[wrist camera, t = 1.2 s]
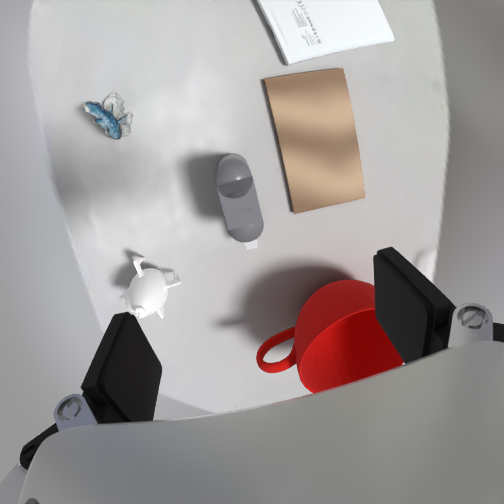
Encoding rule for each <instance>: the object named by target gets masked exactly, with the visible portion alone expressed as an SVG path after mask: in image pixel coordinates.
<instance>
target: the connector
mask: <svg viewBox="0 0 504 504" xmlns="http://www.w3.org/2000/svg"><path fill="white" fill-rule="evenodd" d="M215 184H216V188H217V192H218V195H219V199H220V203H221V206H222V210H223V213H224V217H225V220H226V224H227V227H228V231H229V233H230V235H231V236H232V237H233V238H234V239H235V240H237V241H239V242H244V243H245V246H246V250H248V249H252V248H256V247H258V243H257V238H258V237H259V236H260V235H261V233H262V231H263V226H264V225H263V219H262V215H261V211H260V206H259V202H258V198H257V194H256V190H255V186H254V182H253V177H252V174H251V172H250V169H249V167H248V164H247V162H246V160H245V159H244V158H243V157H242V156H240V155H238V154H228V155H225V156H224V157H223V158H222V159H221V160H220V161H219V163H218V167H217V172H216V177H215Z"/></svg>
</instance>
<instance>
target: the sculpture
mask: <svg viewBox="0 0 504 504" xmlns="http://www.w3.org/2000/svg"><path fill="white" fill-rule="evenodd" d="M123 103H124V100H123V99H122V98H121V96H120V95H119V94H118V93H115V92H114V93H112V94H111V95H109V96H108V98H107V99H106V100H105V101H104V104H103V106H104V109H102V107H101V105H100V103H98V102H95V103H94V102H92V101H89V102H84V103H83V105H84V106H85V107H84V110H85V111H86V112H88V113H90V114H93V116H95V117H96V119H94V120H93V122H94V123H96V124H98V123H99V125H100V126H101V127H102V129H104V130H105V133H106V135H107V136H108V135H109V136H110V137H112V138H114V139H120V138H121V137H124V136H128V135H129V134H130V132H131V128H130V125H131V124H132V117H133V114H132V113H130V112H128V113H127V114H126V115H125V114H124V107H123Z"/></svg>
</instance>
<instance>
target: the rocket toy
mask: <svg viewBox="0 0 504 504" xmlns="http://www.w3.org/2000/svg"><path fill="white" fill-rule="evenodd" d="M144 259H145V258H144V257H142V258H137V259H134V261H133V263H134V266H135V268H136V270H137V274H136V275H135V276H134V278H133V279H132V281H131V283H130V287H129V288H128V289H127V290H126V291H125V292H124V293H123V294H122V295H121V296H120V297H119V300H123V299H126V301H125V304H126V307H127V308H128V310H130V311H131V312H134V314H135V315H136V317H138V318H144V317H145V316H147V315H150V314H152V313H154V312H156V311H157V312H158V314H159V316H160V318H161V319H163V315H164V306H163V304H164V303H165V301H166V299H167V295H168V288H169V287H172V286H176V285H179V284H180V283H181V280H180V278H179V277H178V275H177V274H176V272H174V279H173V280H172V281H170V282H167V280H166V277H165V276H164V274H163V273H162V272H161V271H160V270H158V269H155V268H147V269H144V270H142V269H141V266H140V263H141V262H142V261H143V260H144Z"/></svg>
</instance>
